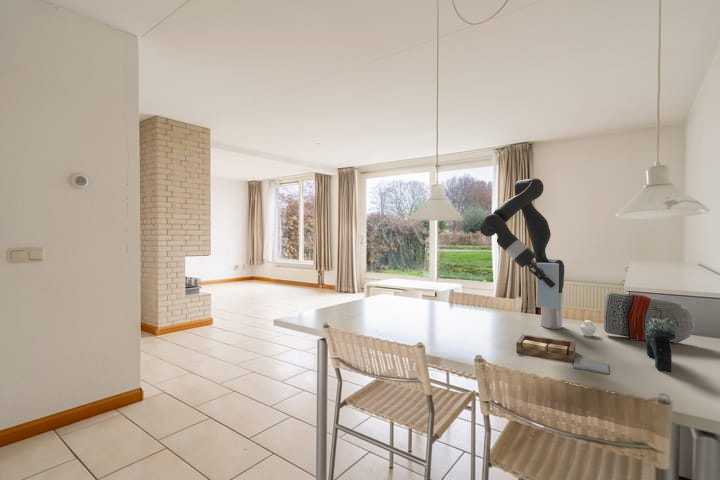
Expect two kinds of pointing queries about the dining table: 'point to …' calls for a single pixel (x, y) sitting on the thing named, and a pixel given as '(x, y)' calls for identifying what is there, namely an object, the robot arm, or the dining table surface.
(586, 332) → the white rounded lump
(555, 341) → the rack
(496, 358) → the dining table surface
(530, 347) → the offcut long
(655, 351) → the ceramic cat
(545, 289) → the pale blue tall prism
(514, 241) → the robot arm
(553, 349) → the offcut short
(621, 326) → the grey red knit hat
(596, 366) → the mat
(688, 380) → the dining table surface
